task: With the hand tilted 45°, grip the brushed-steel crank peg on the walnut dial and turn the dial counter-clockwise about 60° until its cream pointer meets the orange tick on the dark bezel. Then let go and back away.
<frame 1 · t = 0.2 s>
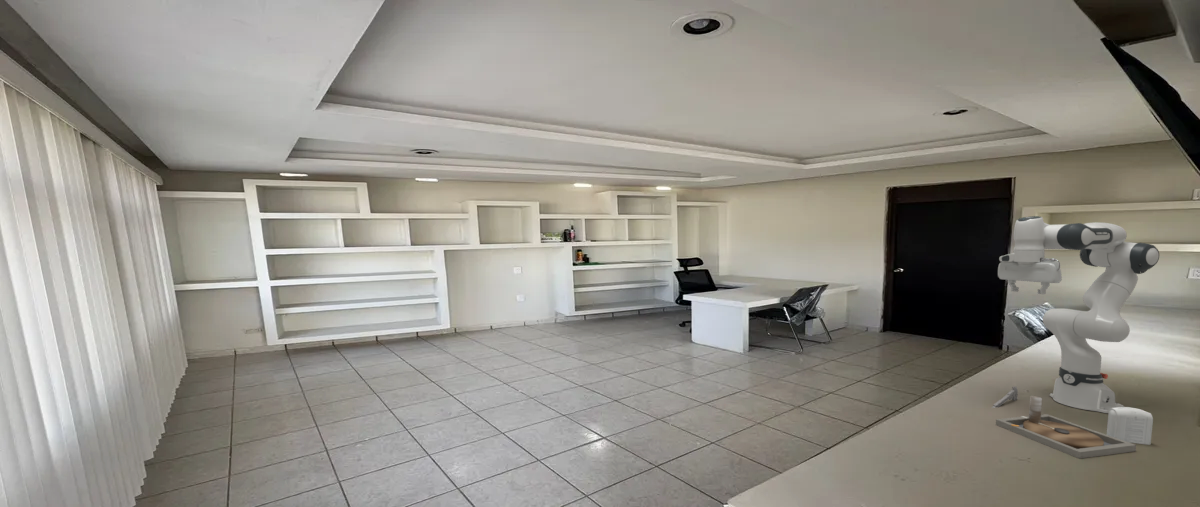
hand: (1027, 292, 173), 47 cm above the table, tool pointing down, fingers open, 8 cm apart
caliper: (1004, 405, 183), on the table
photo printer: (1127, 444, 149), on the table
dial base: (1061, 440, 151), on the table
dial: (1062, 421, 151), point 7 cm above the table, hinge at 0.0°
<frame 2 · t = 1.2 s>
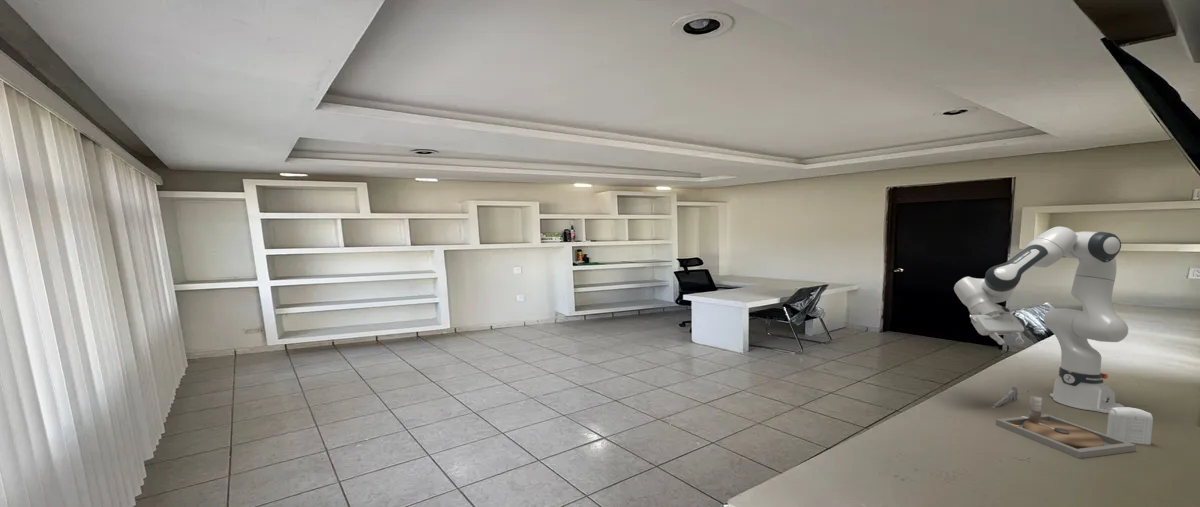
hand: (1012, 343, 167), 29 cm above the table, tool tilted 45°, fingers open, 8 cm apart
nothing on the table moved.
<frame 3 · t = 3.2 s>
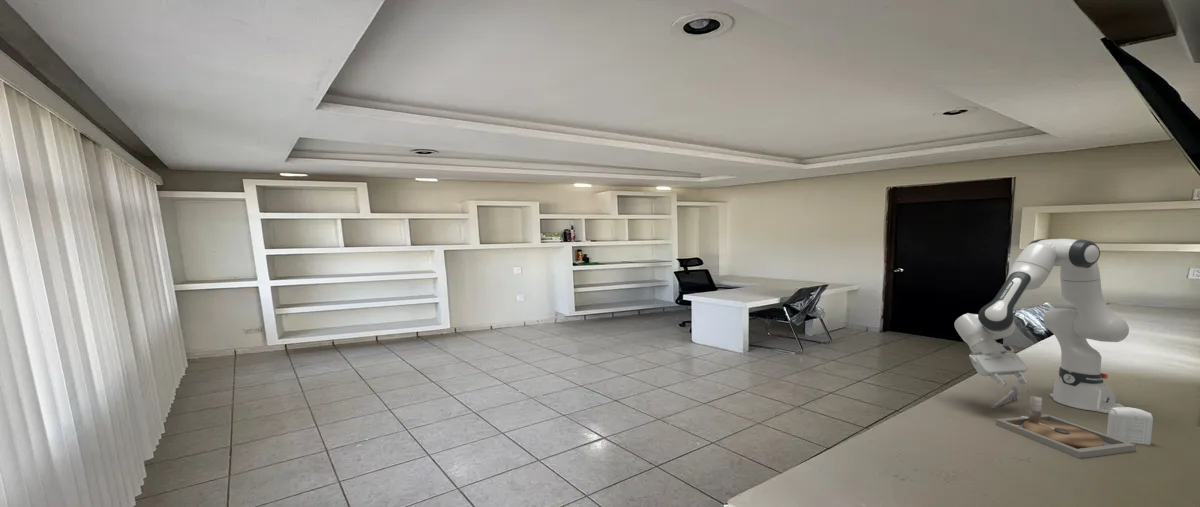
hand: (1014, 384, 165), 14 cm above the table, tool tilted 45°, fingers open, 8 cm apart
nothing on the table moved.
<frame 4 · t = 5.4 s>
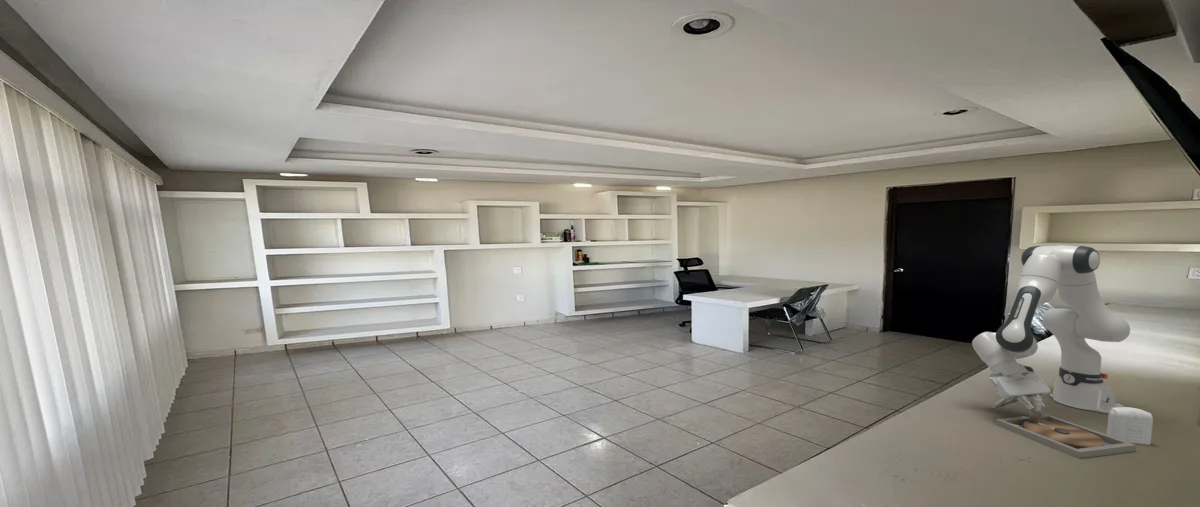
hand: (1037, 408, 158), 8 cm above the table, tool tilted 45°, fingers closed on dial, 3 cm apart
dial: (1062, 421, 151), point 7 cm above the table, hinge at 0.0°, touching gripper
everything else where it was.
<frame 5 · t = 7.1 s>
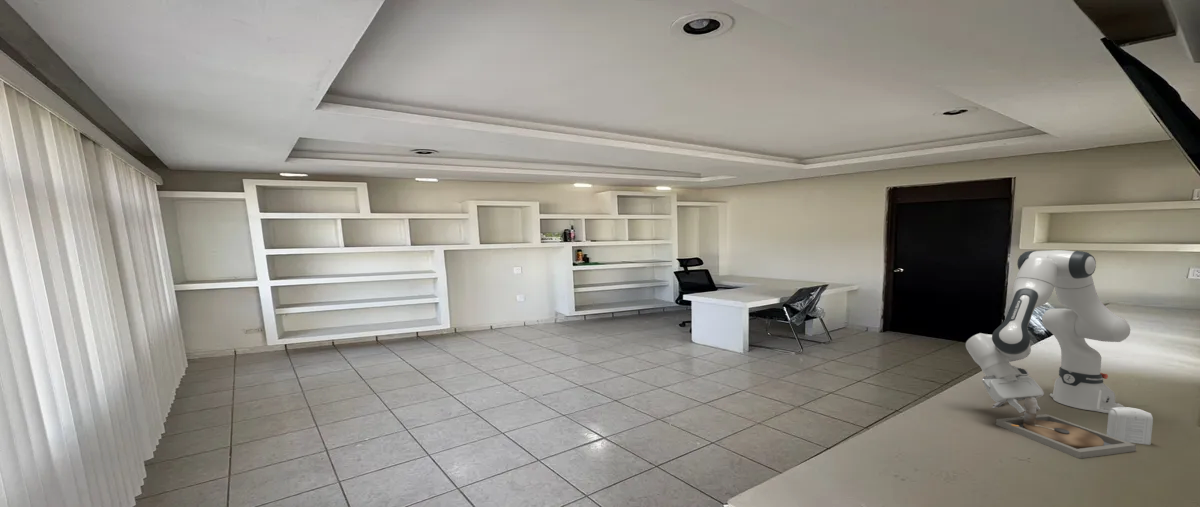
hand: (1030, 411, 156), 8 cm above the table, tool tilted 45°, fingers open, 5 cm apart
dial: (1062, 421, 151), point 7 cm above the table, hinge at 27.8°, touching gripper
everything else where it was.
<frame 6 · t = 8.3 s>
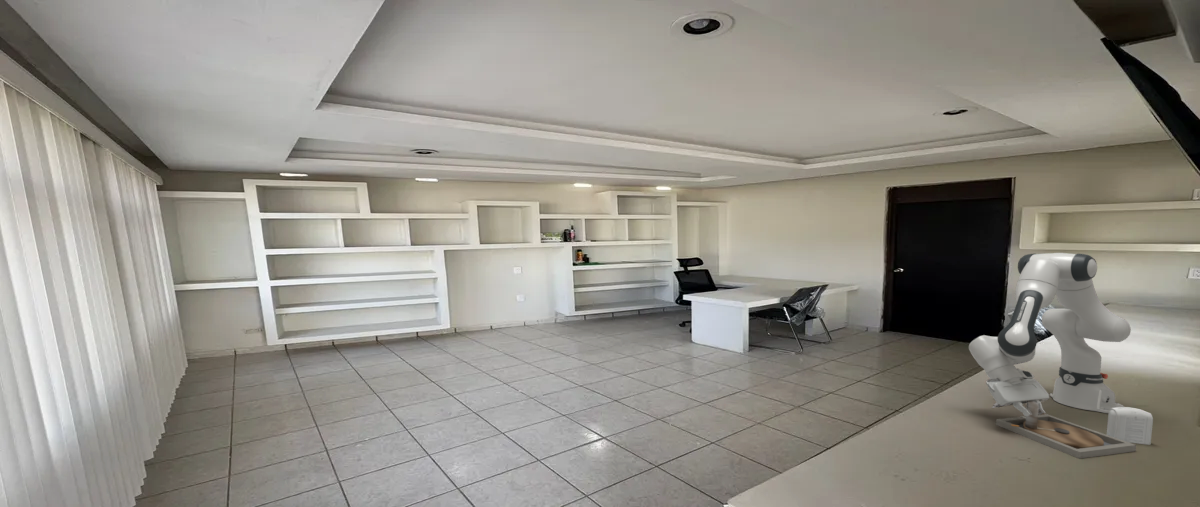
hand: (1036, 415, 152), 8 cm above the table, tool tilted 45°, fingers open, 5 cm apart
dial: (1062, 421, 151), point 7 cm above the table, hinge at 54.2°
everything else where it was.
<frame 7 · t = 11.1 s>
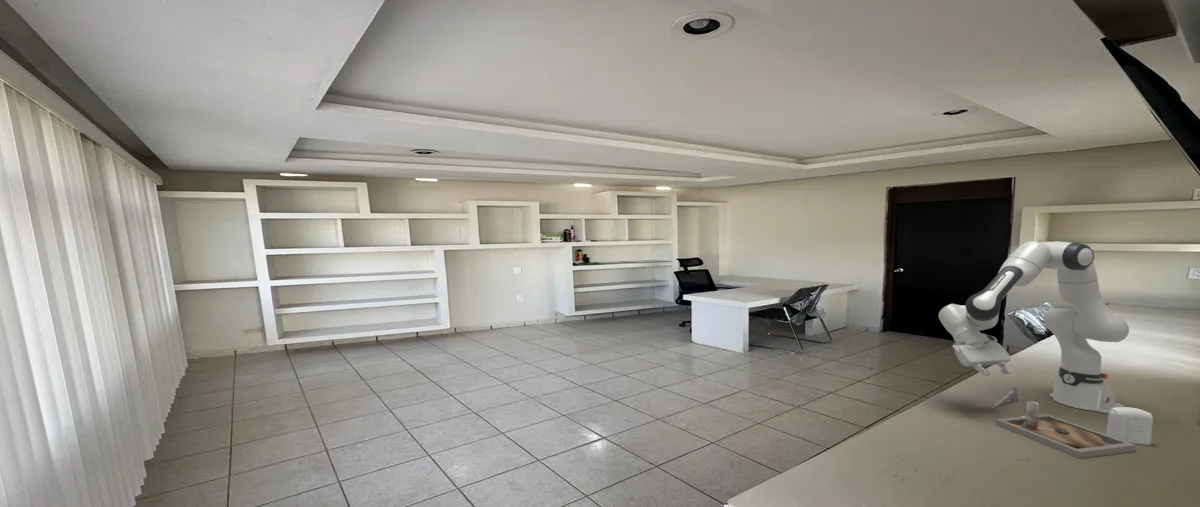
hand: (997, 374, 164), 18 cm above the table, tool tilted 45°, fingers open, 8 cm apart
nothing on the table moved.
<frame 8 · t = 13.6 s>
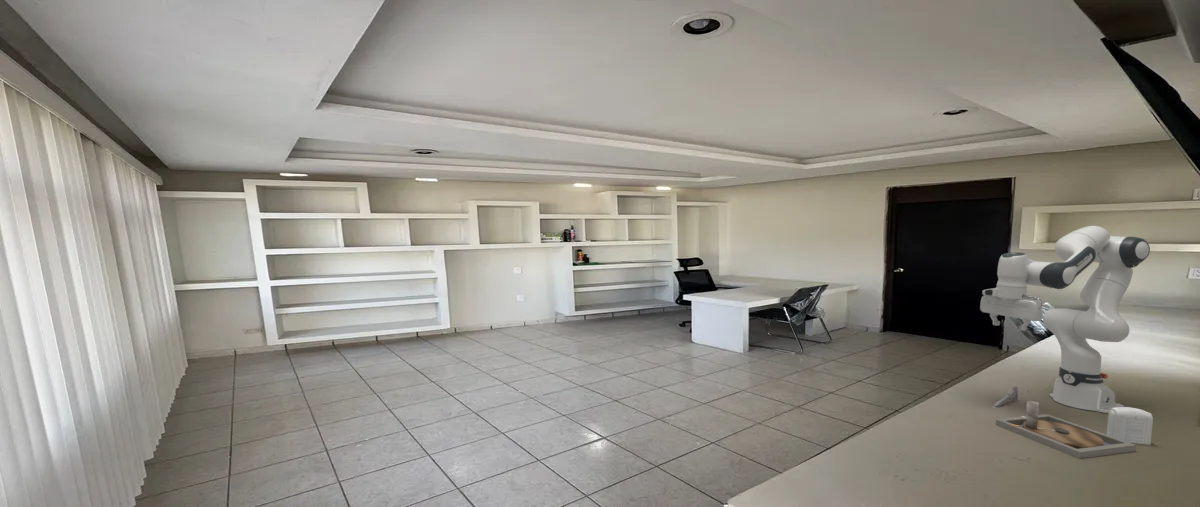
hand: (1008, 327, 176), 33 cm above the table, tool pointing down, fingers open, 8 cm apart
nothing on the table moved.
at the end: dial at +54° (first picture: +0°); the gripper is holding nothing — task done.
